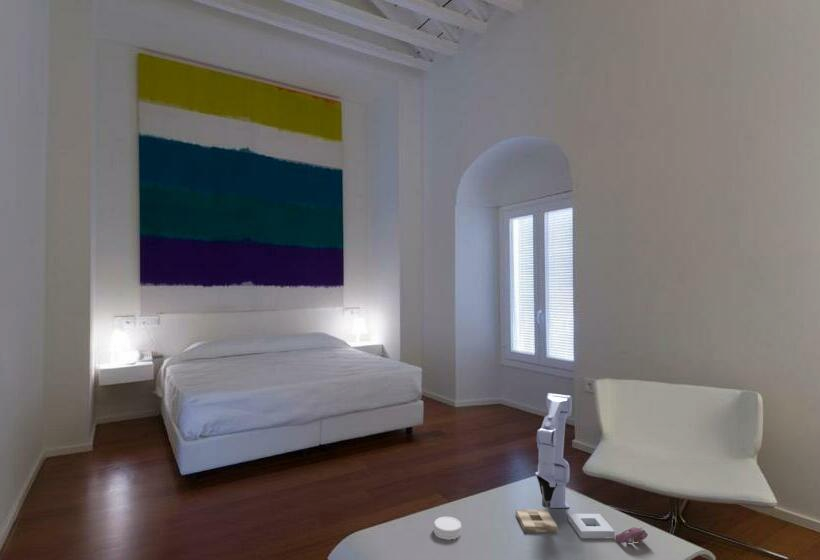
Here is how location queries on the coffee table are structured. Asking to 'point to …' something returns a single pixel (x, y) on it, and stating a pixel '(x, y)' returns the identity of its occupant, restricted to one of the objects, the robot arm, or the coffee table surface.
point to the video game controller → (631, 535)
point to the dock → (596, 531)
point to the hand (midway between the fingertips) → (546, 497)
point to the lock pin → (544, 503)
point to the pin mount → (536, 526)
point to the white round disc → (447, 528)
